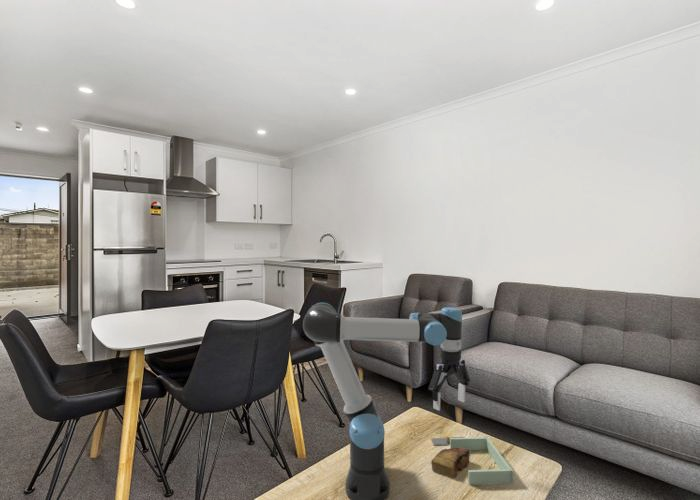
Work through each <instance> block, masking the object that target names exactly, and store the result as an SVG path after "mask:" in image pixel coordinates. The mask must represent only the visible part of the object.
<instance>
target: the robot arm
mask: <svg viewBox="0 0 700 500" xmlns="http://www.w3.org/2000/svg"><path fill="white" fill-rule="evenodd" d="M462 327H463V313H462V309H459V308H457V307H447V306H446V307H443V308H441V311H440V312H439V313H437V312H420V311H419V312H411V313H410V314H409V318H386V317H385V318H383V317H361V316H360V317H357V316H355V317H353V316H345V315H344V314H342V313H337V310H336V309H335V307H334V306H332V305H331V304H329V303H327V302H317V303H315V304H313V305H311V307H310V308H309V309H308V310H307V312H306V314H305V315H304V317H303V320H302V329H303V332H304V335H306V337H307V338H309V339H310V340H312V341H313V343H314V345H315V346H317V347H319V348H320V349H321V352H322V354H323V356H324V358H325V361H326V363H327V366H328V368H329V370H330V372H331V375H332V376H333V379H334V381H335V383H336V385H337V388H338V391H339V393H340V395H341V398H342V400H343V402H344V406H343V413H344V415H345V418H346V420H347V423H348V425H349V454H350V455H349V457H350V458H349V464H350V465H349V470H348V473H347V476H346V479H345V483H344V484H345V485H344V486H345V494H346V496H347V497H348V498H349V499H350V500H386V499H387V498H388V496H389V495H390V491H391V490H390V480H389V477H388V474H387V470H386V467H385V434H386V433H385V426H384V422H383V421H382V419H381V414H380V410H379V409H378V407H377V405H376V404H375V402H374V400H373V398H372V396H370V395H369V394H366V392H365V390H364V389H365V388H364V386H363V384H362V383H361V380H360V378H359V375H358V373H357V370H356V369H355V367H354V363H353V362H352V361H353V360H352V359H351V357H350V355H349V351H348V349H347V347H346V345H345V342H344V341H346V340H347V341H349V340H350V341H351V340H352V341H374V342H375V341H379V342H380V341H383V342H385V341H386V342H408V343H409V342H410V343H411V342H412V343H413V342H416V343H427V344H429V345H431V346H436V347H437V346H440V348H441V349H440V359H441V364H439V363H435V365H434V371H433V374H432V375H431V376H432V377H431V380H430V383H429V384H428V385H429V386H428V391H430V392H432V401H433V402H432V408H433V410H437V411H438V412H439V411H441V392H440V390H441V388H442V387H443V384H444V383H445V381H446V379H447V378H448V377H449V376H451V375H455V377H456V378H457V380H458V381H459V383H458V386H457V389H458V390H457V400H458V401H460V402H461V403H465V402H466V392H467V390H466V387H467V386H469V383H470V382H471V378H470V376H469V373H468V370H467V367H466V360H465V359H462V332H463V331H462V330H463V328H462Z"/></svg>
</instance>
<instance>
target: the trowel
mask: <svg viewBox="0 0 700 500" xmlns="http://www.w3.org/2000/svg"><path fill="white" fill-rule="evenodd" d="M450 438H466V437H464V436H452V437H450V436H449V437H448V436H447V437H433V438H432V437H431V438H430V440H431V443H432V445H433V446H448V445H449V444H450Z"/></svg>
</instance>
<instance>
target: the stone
mask: <svg viewBox="0 0 700 500" xmlns="http://www.w3.org/2000/svg"><path fill="white" fill-rule="evenodd" d="M470 453H471V452H470V450H468V449H466V448H459V447H458V448H455V449H454V448H451V449H450V448H444V449H441V450H440V451H439V452H438V453H437V454H436V455H435V456H434V457H433V458H432V459H431V470H432V472H433V473H434V474H435V473H436V474H438V475H442V476H444V477H447V478H450V479H456V478H457V475H458V473H460V472H462V471H464V470H465V469H467V468H468V467H469V465H470V456H471V455H470Z"/></svg>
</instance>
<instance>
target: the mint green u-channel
mask: <svg viewBox="0 0 700 500" xmlns="http://www.w3.org/2000/svg"><path fill="white" fill-rule="evenodd" d="M458 447H459V448H466V449H468V450H469V451H478V450H479V451H480V450H486V452H487V453H488V455H489V456H490V457H491V459H492V460H493V462H494V463H495V464H496V465H497V467H498V468H499V469H497V468H496V469H494V468H493V469H468V470H467V471H468V472H467V483H468V484H469V485H470V486H472V485H474V486H475V485H476V486H477V485H504V484H505V485H506V484H507V485H508V484H509V485H510V484H511V485H513V484H514V470H513V468H512V467H511V465H509V463H508V462H507V460H506V459H505V458H504V457H503V455H502V454H501V453H500V451H499V450H498V449H497V447H496V446H495V445H494V444H493V442H492V441H491V439H490V438H489V437H488V436H484V437H482V436H480V437H471V436H470V437H465V438H450V443H449V449H451V448H454V449H455V448H458Z"/></svg>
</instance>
